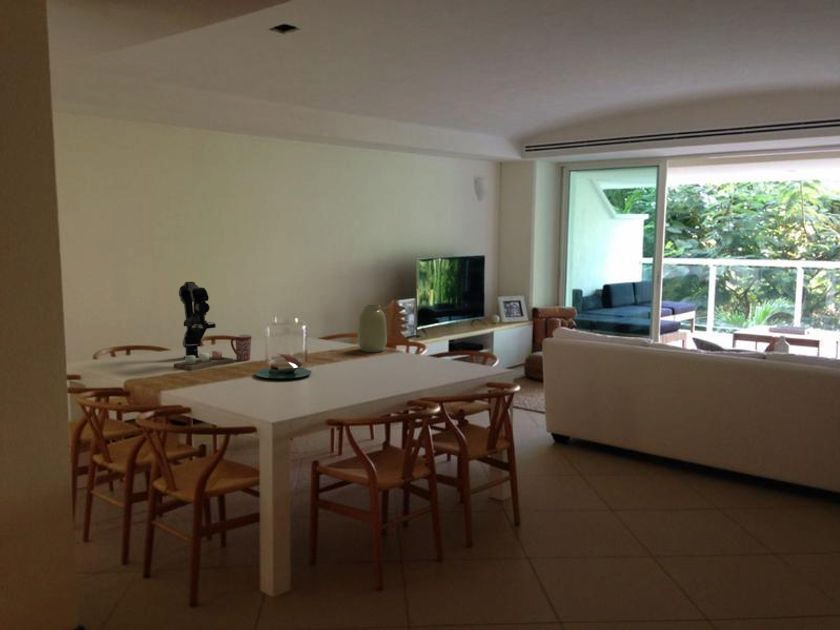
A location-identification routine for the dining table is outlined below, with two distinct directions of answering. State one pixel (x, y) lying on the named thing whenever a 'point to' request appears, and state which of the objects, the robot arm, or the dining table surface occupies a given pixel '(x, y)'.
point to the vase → (372, 329)
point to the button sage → (190, 360)
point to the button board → (203, 364)
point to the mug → (242, 347)
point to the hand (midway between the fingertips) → (199, 340)
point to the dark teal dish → (284, 370)
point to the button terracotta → (216, 355)
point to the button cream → (203, 357)
